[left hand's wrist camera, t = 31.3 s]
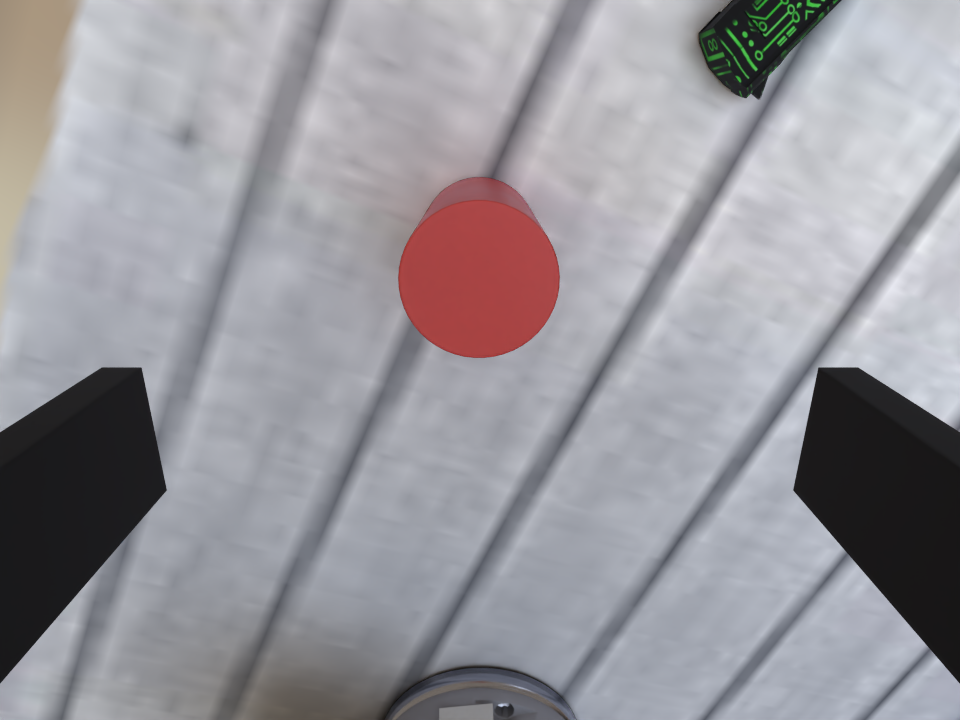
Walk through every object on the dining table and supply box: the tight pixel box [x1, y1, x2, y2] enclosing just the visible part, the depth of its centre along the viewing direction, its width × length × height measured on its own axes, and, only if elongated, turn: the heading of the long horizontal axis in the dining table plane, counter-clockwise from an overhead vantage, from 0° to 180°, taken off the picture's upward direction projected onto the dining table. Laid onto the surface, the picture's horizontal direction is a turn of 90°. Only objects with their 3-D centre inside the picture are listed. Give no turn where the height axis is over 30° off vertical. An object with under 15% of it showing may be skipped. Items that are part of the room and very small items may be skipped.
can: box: [398, 177, 560, 358], centre depth 29 cm, size 6×6×11 cm
